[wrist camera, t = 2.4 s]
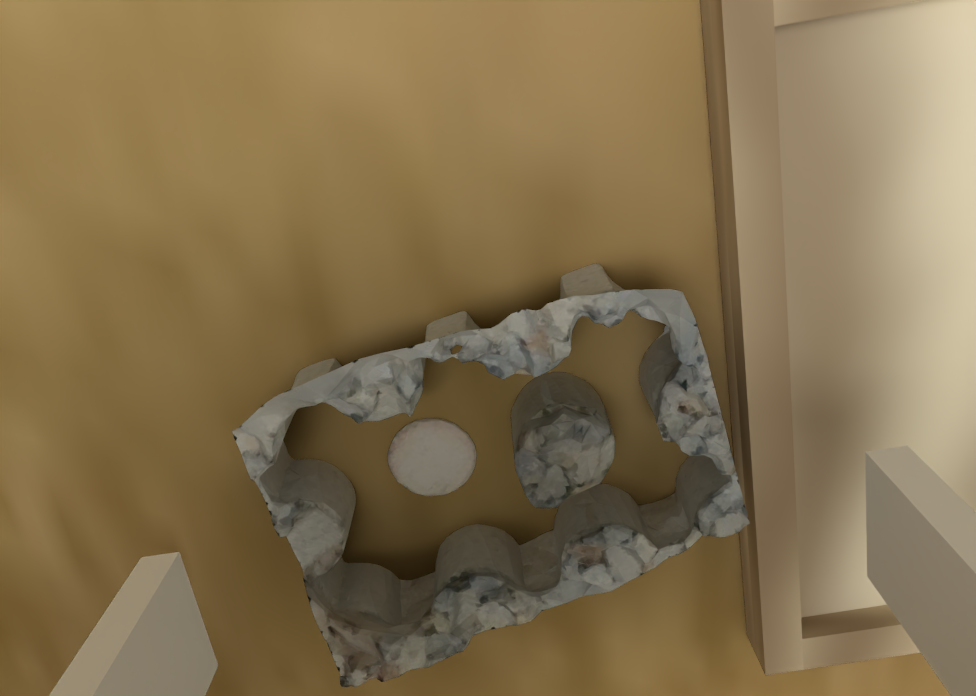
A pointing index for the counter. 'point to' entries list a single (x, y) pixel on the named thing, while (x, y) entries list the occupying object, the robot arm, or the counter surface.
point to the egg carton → (538, 462)
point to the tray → (840, 290)
